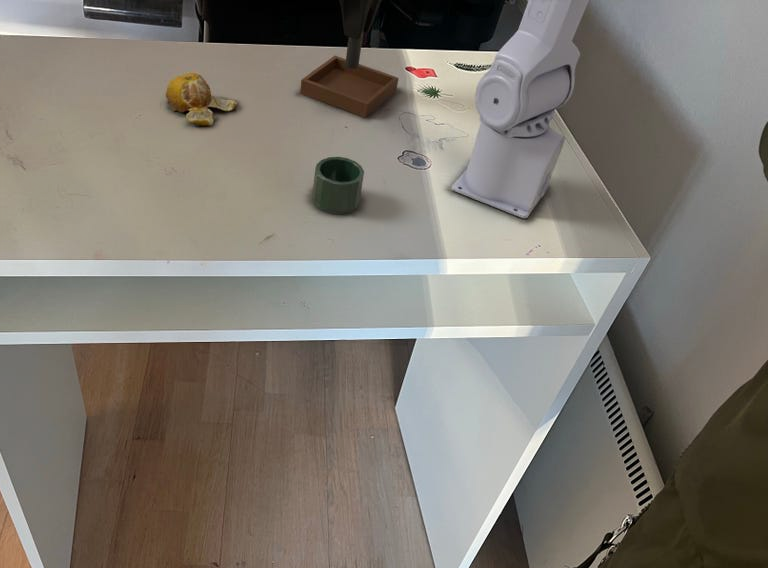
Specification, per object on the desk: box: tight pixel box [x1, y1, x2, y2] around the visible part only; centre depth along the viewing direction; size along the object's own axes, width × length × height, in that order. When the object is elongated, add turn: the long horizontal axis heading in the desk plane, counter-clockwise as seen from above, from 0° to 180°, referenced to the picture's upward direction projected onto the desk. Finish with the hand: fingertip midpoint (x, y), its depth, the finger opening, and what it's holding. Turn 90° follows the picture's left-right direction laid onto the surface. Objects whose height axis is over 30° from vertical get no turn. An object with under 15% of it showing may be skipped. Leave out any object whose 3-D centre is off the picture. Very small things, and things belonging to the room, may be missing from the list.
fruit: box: [165, 72, 238, 126], centre depth 97 cm, size 8×8×4 cm
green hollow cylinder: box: [311, 156, 365, 215], centre depth 85 cm, size 5×5×4 cm
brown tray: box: [299, 55, 399, 119], centre depth 103 cm, size 10×9×2 cm
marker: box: [345, 30, 365, 69], centre depth 98 cm, size 2×2×8 cm
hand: (356, 33), depth 98 cm, fingers closed on marker, 2 cm apart
